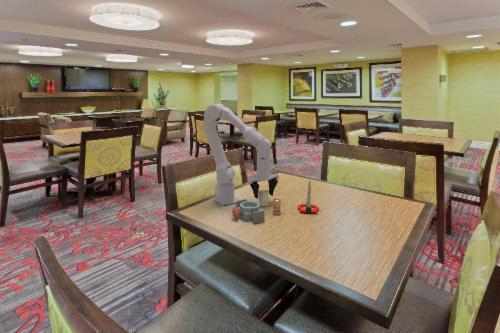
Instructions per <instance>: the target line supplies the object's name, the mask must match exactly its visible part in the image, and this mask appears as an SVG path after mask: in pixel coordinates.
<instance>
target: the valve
mask: <svg viewBox="0 0 500 333" xmlns="http://www.w3.org/2000/svg"><path fill="white" fill-rule="evenodd" d="M235 204H236V207H233V208H232V211H231V212H232V217H233V218H234V220H238V219H239V218H240V219H242V220H243V221H245V222H251V221H252V224H254V225H256V224H260V223H264V222H265V220H266V219H265V216H266V215H265V214H266V213H265V212H266V211H265V210H264V209H263V208H261V206H260V203H258V201H255V200H253V201H252V200H248V199H247V198H245V199H240V200H237V201H236V203H235Z"/></svg>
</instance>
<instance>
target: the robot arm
mask: <svg viewBox="0 0 500 333" xmlns="http://www.w3.org/2000/svg"><path fill="white" fill-rule="evenodd" d="M203 112H204V118H203V123H202V128H203V130H204V131H203V132H204V134H205V137H206V139H207V142H208V145H209V147H210V148H209V149H210V151H211V154H212V156H213V159H214V162H215V172H216V181H217V182H216V183H215V187H214V188H215V198H213V200H214V201H216V202H217V203H218V204H220V205H221V206H225V205H226V206H227V205H231V204H232V205H233V204H236V201H238V200H236V199H235V180H234V177H235V175H236V172H235V168H233V167H232V165H231V163H230V162H229V161H228V158H227V157H226V153H225V149H224V148H223V145H222V141H221V138H220V135H219V133H218V130H217V125H218V123H219V122H220V121H227V122H228V123H230V124H232V126H234V127H235V128H237V129H238V131H240V132H241V133H242V137H243V138H244V139H245V140H246V141H247V142H248V143H250V144H251V145H252V147H255V151H256V152H257V156H256V167H257V168H256V173H257V174H256V176H255V175H254V176H252V177H248V178H247V180H248V181H247V183H248V184H249V186H250V187H251V190H252V193H253V197H254V198H255V199H258V200H259V191H260V184H259V182H266V181H267V183H268V196H269V195H270V196H271V197H272V196H274V193H275V189H276V187H277V185H278V183H279V180H278V179H280V178H279V177H280V176H279V174H278V173H271V148H272V142H271V140H270V139H269V138H267V137H266V136H265V135H264V134H263V135H262V134H261V133H260V132H259V131H258V130H257V127H255V126H247V124H245V122H244V121H242V120H241V119H240V118H239V117H238V115H236V114H235V113H234V112H233V111H232V110H231V109H230V108H229V107H227V106H225V105H224V104H223V103H222V102H217V103H212V104H209V105H208V106H206V108H205V110H204V111H203Z"/></svg>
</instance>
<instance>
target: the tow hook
mask: <svg viewBox="0 0 500 333" xmlns="http://www.w3.org/2000/svg"><path fill="white" fill-rule="evenodd" d="M311 181H312V180H308V186H307V200H306V203H301V204H299V205H297V208H296V209H297V210H298V211H299V213H300V214H306V215H307V214H313V215H315V214H316V215H317V214H318V211H320V207H319V206H318V205H315V204H312V200H311V197H312V196H311V194H312V183H311ZM312 208H313V209H312Z"/></svg>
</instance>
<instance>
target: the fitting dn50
mask: <svg viewBox="0 0 500 333" xmlns="http://www.w3.org/2000/svg"><path fill="white" fill-rule="evenodd" d="M257 202H258V203H260V207H267V206H270V201H269V190H267V189H259V191H258V201H257Z"/></svg>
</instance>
